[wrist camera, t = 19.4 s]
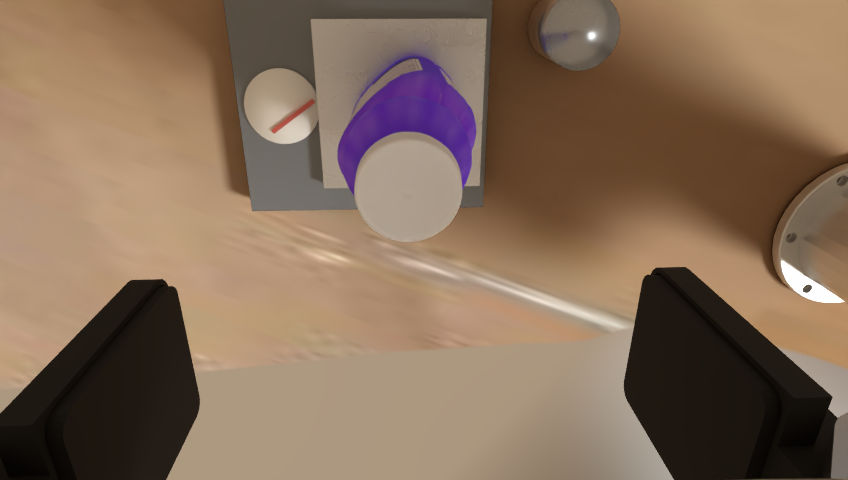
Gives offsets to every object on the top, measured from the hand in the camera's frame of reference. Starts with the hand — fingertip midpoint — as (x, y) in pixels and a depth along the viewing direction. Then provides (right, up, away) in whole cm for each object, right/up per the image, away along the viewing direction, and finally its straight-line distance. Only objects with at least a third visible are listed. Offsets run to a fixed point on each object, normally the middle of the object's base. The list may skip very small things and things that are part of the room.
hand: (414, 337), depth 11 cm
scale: (-4, +12, +28) cm, 30 cm away
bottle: (-1, +11, +25) cm, 27 cm away
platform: (-1, +11, +26) cm, 28 cm away
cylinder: (+10, +17, +26) cm, 33 cm away
